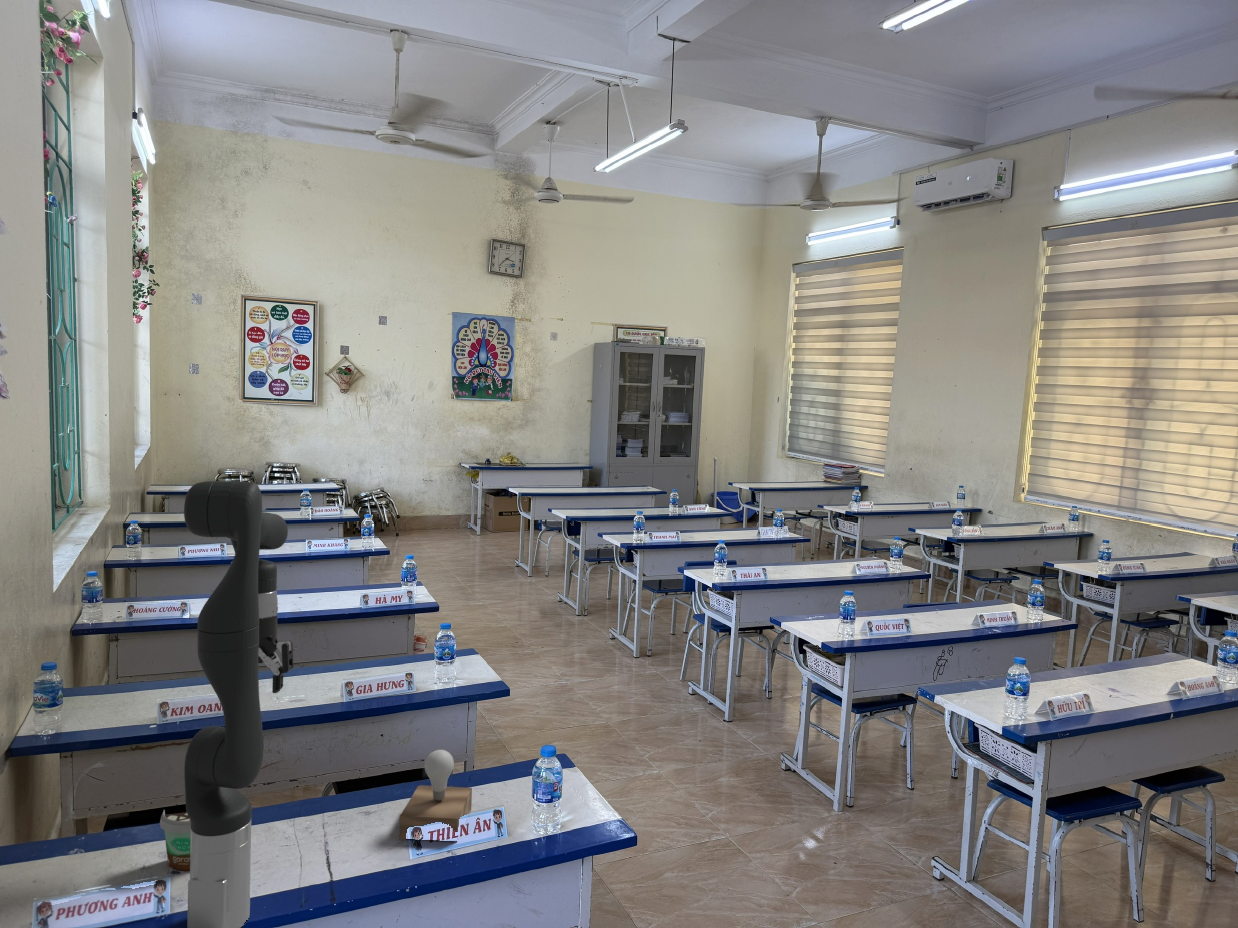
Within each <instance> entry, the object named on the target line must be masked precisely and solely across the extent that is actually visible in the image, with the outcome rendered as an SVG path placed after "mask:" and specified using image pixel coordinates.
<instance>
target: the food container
mask: <svg viewBox="0 0 1238 928" xmlns="http://www.w3.org/2000/svg"><path fill="white" fill-rule="evenodd" d="M165 811H166V810H165V809H163V812H162V813H161V816H160V821H159V826H160V828H161V829H162V830H163V831H164V839H165V848H166V850H165V851H166V857H167V865H168V867H169V869H170V870H173V871H176V872H184V873H185V872H190V844H191V821H190V818H189V817H188V814H187V811H185V812H179V813H177V812H176V813H169V814H166V812H165Z"/></svg>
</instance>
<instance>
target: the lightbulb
mask: <svg viewBox="0 0 1238 928" xmlns="http://www.w3.org/2000/svg"><path fill="white" fill-rule="evenodd" d="M454 761H455V760H454V758H453V755H452V753H450V752H449V751H447V750H445V749H436V750H434V751H432V752H430V753H429V754H428V756H426V758H425V761H424V771H425V773H426V775H427V777H428V778H429V781H430V786H432V790H433V798H434V799H435V800H437V801H441V800H442V799H444V798H445V789H446V787H448V785H447V784H448V781H449V780H448V779H449V777H450V775H451V773H452V772H453V769H454V766H455V764H454V763H455V762H454Z"/></svg>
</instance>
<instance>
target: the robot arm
mask: <svg viewBox="0 0 1238 928" xmlns="http://www.w3.org/2000/svg"><path fill="white" fill-rule="evenodd" d="M183 505H184V506H183V518H184V521H185V525H186V527H187V530H188V531H189V532H190V533H192V534H193V535H195V536H197V537H202V538H203V537H204V538H226V539H227V538H228V539H230V542H231V545H232V548H233V551H234V557H233V558H232V561H231V564H230V565H229V568H228V569H227V572H225V575H224V576H223V577H222V579H221V581H220V582H219V584H218V585H217V586H216V588H215V589H214V590H213V591H212V593H210V594H211V595H210V596H209V597H208V599H207V601H205V603H204V604H203V606H202V608H201V610H200V612H199V614H198V617H197V656H198V661H199V663H200V666H201V668H202V670H203V673H204V674H205V677H206V678H207V681H208V682H209V684H210V685H211V688H212V689H213V691H214V692H215V694H216V696H217V698H218V700H219V703H220V706H221V708H222V713H223V718H224V719H223V720H224V726H221V725H220V726H219V725H210V726H206V727H203V728H201V729H200V730H198V731H197V733H195V735H194V736H193V737H192V738H191V741H190V742H189V745H188V747H187V750H186V753H185V758H184V768H183V770H184V789H185V790H184V794H185V795H184V796H185V797H184V798H185V810H186V811H185V812H187V814H188V817H189V818H190V821H191V844H190V871H189V880H188V882H187V924H186V925H187V926H186V927H187V928H242V927H243V926H244V925H245V924H246V923H247V922H246V920H248V921H249V919H250V913H251V912H250V911H251V864H252V863H251V861H252V860H251V859H252V857H251V856H252V855H251V854H252V853H251V851H252V814H253V812H252V810H253V809H252V808H253V807H252V803H251V801H250V799H249V798H248V797H247V796H245V795H244V794H243V793H241V792H240V791H239V790H238V789H244V788H247V787H248V786H251V784H252V783H253V782H254V781H255V780H256V779H257V777H258V775H259V773H260V771H261V768H262V765H263V760H264V753H265V752H264V748H265V747H264V746H265V743H264V742H265V741H264V731H263V722H262V711H261V710H262V709H261V702H260V687H259V686H260V685H259V684H260V683H259V682H260V681H259V680H260V679H259V664H263V663H264V665H265V666H266V667H267V668H269V669H270V670H271V672H272V674H273V675H272V687H271V688H272V689H271V690H272V694H278V693H279V692H280V691H281V690H282V689H283V687H284V674H286V673H288V672H289V671H291V670H293V669H294V646H293V641H292V640H287V641H281V642H280V641H279V640H278V638H277V637H278V636H277V634H278V612H279V605H278V603H279V600H278V594H277V593H278V591H277V589H278V585H277V584H278V582H277V581H278V580H277V579H278V569H277V568H278V567H277V564H276V563H275V562H274V561H270V560H266V559H261V558H260V552H261V551H263V550H264V551H265V550H267V551H268V550H269V551H270V550H277V549H279V548H281V547H282V546H283V545H284V544H285V543H286V541H287V538H288V535H289V531H288V524H287V522H286V521H285V519H284V518H283V517H282V516H281V515H280V514H278V513H277V514H276V513H271V512H265V511H263V497H262V491H261V489H260V487H259V485H258V484H257V483H256V482H253V481H223V480H222V481H217V480H216V481H215V480H213V481H212V480H211V481H210V480H209V481H201V482H197V483H195V484H193V485H192V486H191V487H190V488H189V489H188V491H187V493H186V495H185V499H184V504H183ZM260 550H261V551H260ZM277 649H278V650H279V653H281V658H280V657H279V656H278V654H277V653H276V650H277ZM280 659H281V660H280ZM248 918H249V919H248ZM245 922H246V923H245ZM244 923H245V924H244Z"/></svg>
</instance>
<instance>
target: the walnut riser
mask: <svg viewBox="0 0 1238 928" xmlns="http://www.w3.org/2000/svg"><path fill="white" fill-rule="evenodd" d="M472 795H473V787H465V786H464V787H462V786H447V787H446V789H445V798H444V799H442V800H441V801H437V800H435V799H434V798H433V790H432V785H424V784H421V785H418V786H417V787H416V789H415V790H414V792H413V793H412V795H411V797H410V799H409V801H407V804H406V805H405V807H404V808H403V810H402V812H401V814H400V815H399V833H398V834H399V841H400V840H401V841H403V840H404V841H407V840H406V833H407V829H408V828H409V827H414V826H424V825H427V824H431V823H435V822H442V824H443V823H444V824H447V825H448V824H449V826H451V828H453V831H454V830H455V832H458V825H459V819H460V817H462V816H464V815H467V814H469V813H471V812H472V802H473V801H472V797H473V796H472ZM469 815H470V814H469Z"/></svg>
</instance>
